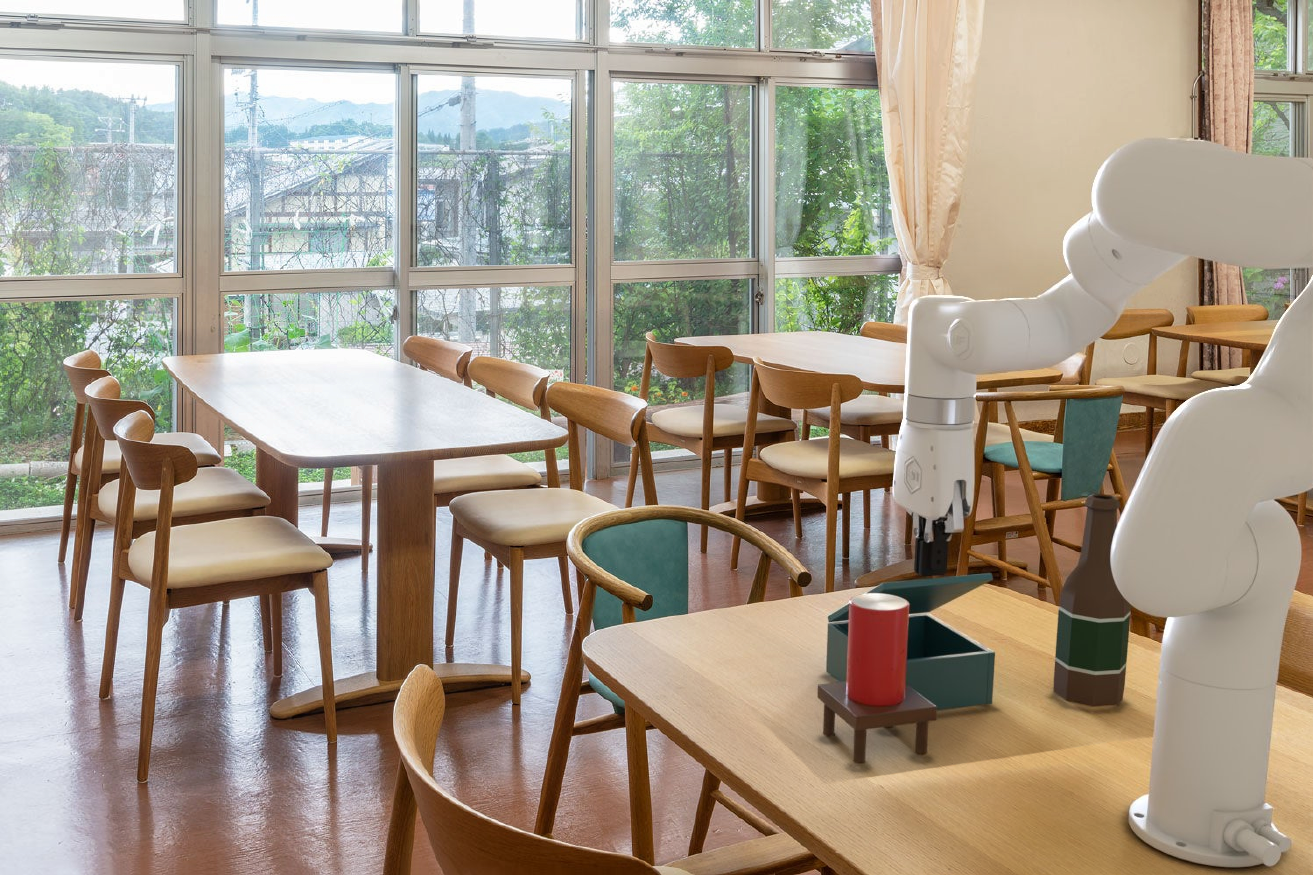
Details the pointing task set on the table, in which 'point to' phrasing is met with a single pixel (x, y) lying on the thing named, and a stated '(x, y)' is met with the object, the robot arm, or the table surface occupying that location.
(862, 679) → the soda can
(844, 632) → the teal open box
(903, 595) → the lid
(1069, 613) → the beer bottle
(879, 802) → the table surface
